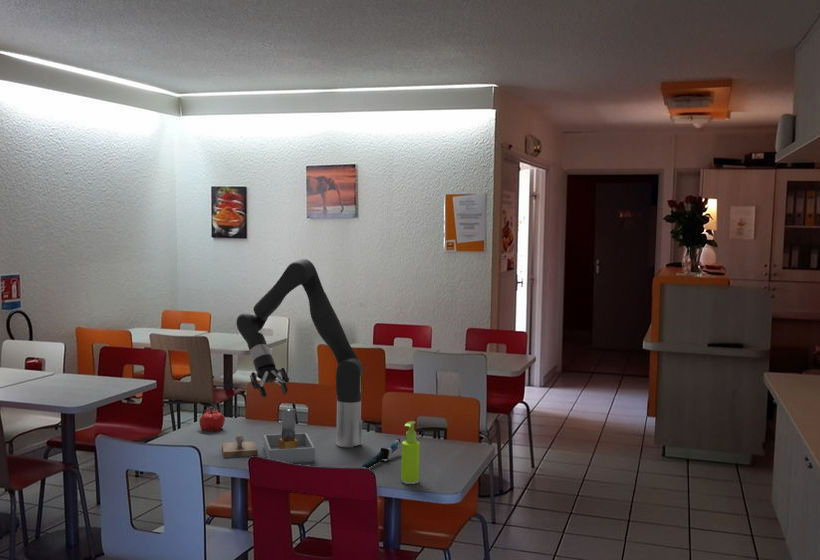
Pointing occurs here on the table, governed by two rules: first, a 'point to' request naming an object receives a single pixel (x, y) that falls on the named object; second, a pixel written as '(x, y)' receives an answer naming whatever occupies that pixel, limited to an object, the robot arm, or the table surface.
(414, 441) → the soap dispenser
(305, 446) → the bin
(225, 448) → the stud block
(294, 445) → the strut
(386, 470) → the table surface
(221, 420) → the red tomato
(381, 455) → the knife
